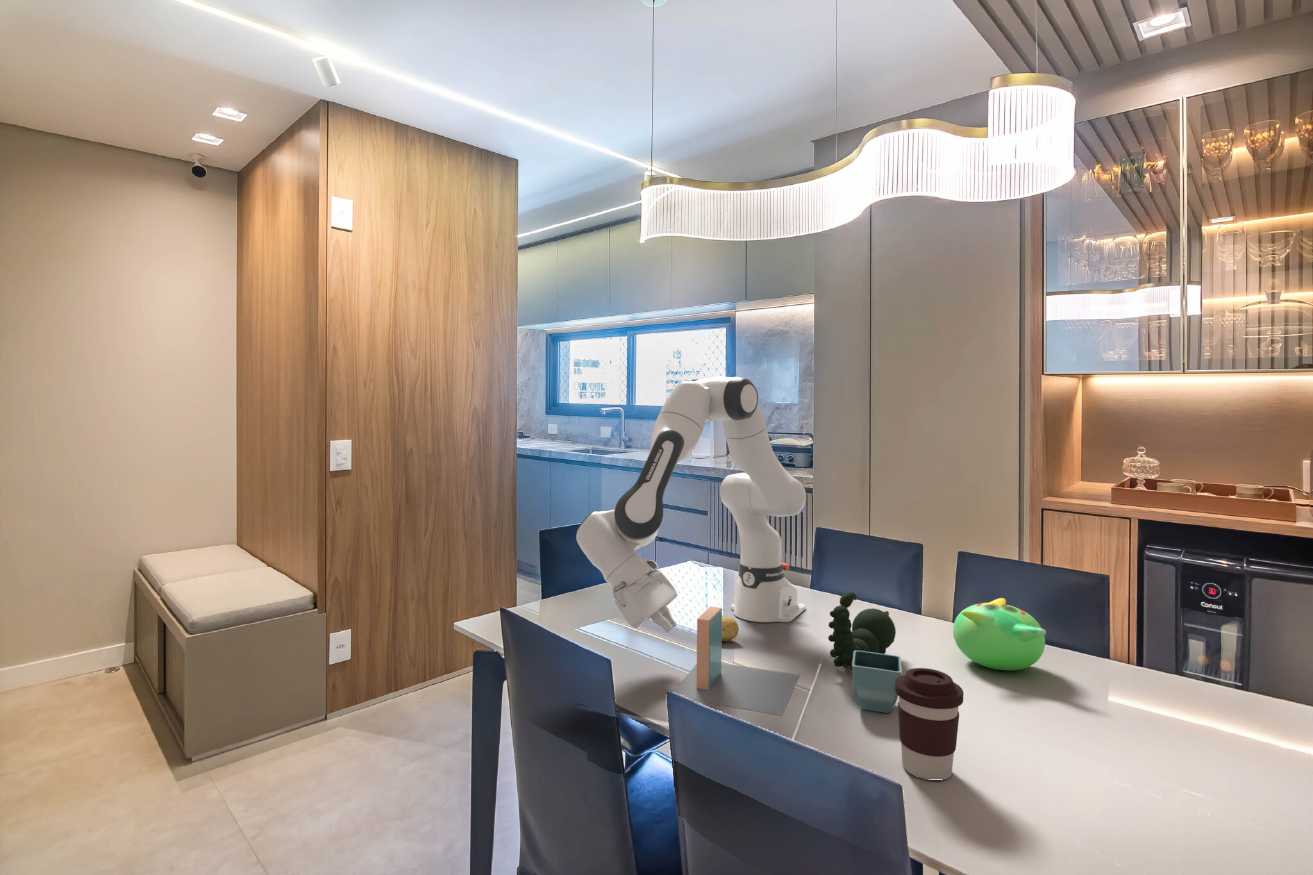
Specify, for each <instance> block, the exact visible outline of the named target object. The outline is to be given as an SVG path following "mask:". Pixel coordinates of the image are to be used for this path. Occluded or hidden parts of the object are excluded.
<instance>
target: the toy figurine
mask: <svg viewBox="0 0 1313 875" xmlns="http://www.w3.org/2000/svg"><path fill="white" fill-rule="evenodd" d="M857 598H858V597H857V594H856V593H855V591H852V590H851V591H850V590H848V591H846V592H844V593H843V594H842V595H841V596H840V598H839V605H837V606H835V607H834V608H833V610H831V611H829V615H830V617H832V618H833V619H832V621H829V622H828V627H829V628H830V629H833V632H832V634H829V635H828V637H827V638H828V641H829V642H831V643H833V648H831V650H830V651H829V655H830V656H831V657H832V658H833V666H835V667H836V668H841V667H843V666H845V667H849V670H850V671H851V672H852V662H853V653H854V651H855V650H857V651H865V652H873V653H880V654H886V652H887V649H888V648H889V647H890V646H892V644H893V643H894V642H895V638H896V634H897V633H896V632H897V631H896V626H895V623H894V621H893V619H892V618H891V616H890V612H889V610H887V611H884V610H880V609H878V608H866V609H863V610H861V611H860V612H859V613H857V615H856V616H855V617H854V619H853V620H852V621H851V620H850V615H851V613H850V611H849V609H848V608H849V607H851V606H852V604H853V602H854V601H856V600H857Z"/></svg>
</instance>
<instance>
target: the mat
mask: <svg viewBox="0 0 1313 875" xmlns="http://www.w3.org/2000/svg"><path fill="white" fill-rule="evenodd" d="M799 677H800V674H796V673H789V672H784V671H783V672H782V671H776V670H770V669H764V668H763V669H762V668H756V667H751V666H750V667H749V666H744V665H737V664H733V663H732V664H731V663H724V662H721V674H720V675H719V676H718V678H717V679H716V680H715V682H714V683H713V684H712V686H711V687H710V688H709V690H707V689H701V688H696V687H697V663H696V664H695V665H694V666H693V667H692V669H691V670H689V672H688V674H687V675H686V676H685V677H684V678H683V679H682V680H681V682H679V684H678V685H677V686H676V687H675V688H674V690H673V691H674V692H676V693H678V694H681V695H684V696H685V697H688V698H690V699H693V700H692V701H695V702H702V703H706V704H713V705H717V706H724V707H729V708H730V707H731V708H735V709H739V710H747V711H752V712H759V713H763V714H768V715H772V716H773V715H774V716H781V717H782V716H783V715H784V712H785V710H786V707H787V705H788V703H789V701H790V698H791V696H792V694H793V693H794V692H793V691H794V690H795V687H796V685H797V682H798V680H799V679H800V678H799Z"/></svg>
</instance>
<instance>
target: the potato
mask: <svg viewBox="0 0 1313 875" xmlns="http://www.w3.org/2000/svg"><path fill="white" fill-rule="evenodd" d="M739 630H740V629H739V624H738V622H737V621H736V619H734V618H732V617H729V616H726V615H724V614H722V642H730V641H732V640H733V639H736V638H737V637H738V635H739Z"/></svg>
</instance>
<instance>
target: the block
mask: <svg viewBox="0 0 1313 875" xmlns="http://www.w3.org/2000/svg"><path fill="white" fill-rule="evenodd" d="M722 608H723V607H719V606H718V607H717V606H709V607H708V608H707V609H706V610H704V612H703V613H702V614H701V615H700V616H699V617H697V619H696V664H697V687H696V688H701V689H707V690H709V688H710V687H711V686H712V684H713V683H714V682H715V680H716V679H717V678H718V676H719V675H720V674H721V663H722V642H723V641H722V615H723V609H722Z"/></svg>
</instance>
